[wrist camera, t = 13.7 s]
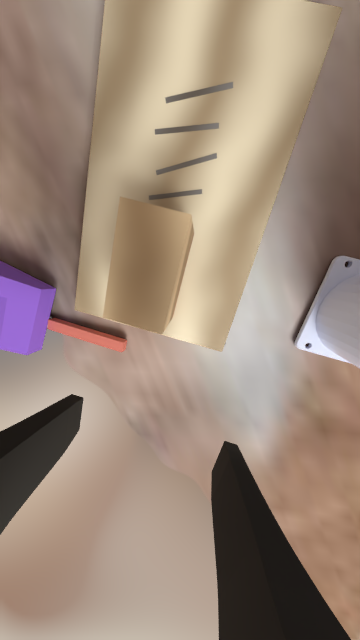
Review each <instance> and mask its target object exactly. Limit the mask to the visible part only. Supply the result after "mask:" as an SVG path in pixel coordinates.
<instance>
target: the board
mask: <svg viewBox="0 0 360 640" xmlns="http://www.w3.org/2000/svg"><path fill="white" fill-rule="evenodd" d="M341 11H342V8H341V7H336V6H331V5H326V4H321V3H316V2H310V1H305V0H105V5H104V15H103V25H102V35H101V45H100V56H99V66H98V76H97V86H96V96H95V106H94V117H93V127H92V137H91V147H90V157H89V167H88V178H87V188H86V198H85V208H84V218H83V228H82V239H81V249H80V259H79V269H78V279H77V289H76V300H75V310H77V311H80V312H84V313H87V314H91V315H94V316H98V317H101V318H103V311H104V304H105V297H106V290H107V283H108V276H109V269H110V262H111V255H112V248H113V241H114V235H115V228H116V221H117V214H118V207H119V200H120V197H124V198H128V199H132V200H136V201H140V202H144V203H148V204H152V205H156V206H160V207H164V208H168V209H172V210H176V211H180V212H184V213H188V214H191V215H192V222H193V228H194V236H193V240H192V244H191V248H190V252H189V256H188V260H187V264H186V268H185V272H184V276H183V280H182V283H181V287H180V291H179V295H178V299H177V303H176V307H175V311H174V315H173V318H172V320H171V321H170V323H169V324H168V326H167V328H166V329H165V331H164V332H163V334H161V335H164V336H168V337H171V338H175V339H178V340H182V341H185V342H189V343H192V344H196V345H199V346H203V347H207V348H210V349H214V350H217V351H221V352H222V350H223V347H224V344H225V342H226V339H227V336H228V333H229V330H230V327H231V324H232V322H233V319H234V316H235V313H236V310H237V307H238V304H239V302H240V299H241V296H242V293H243V290H244V287H245V285H246V282H247V279H248V276H249V273H250V270H251V267H252V265H253V262H254V259H255V256H256V253H257V250H258V247H259V245H260V242H261V239H262V236H263V233H264V230H265V227H266V225H267V222H268V219H269V216H270V213H271V210H272V208H273V205H274V202H275V199H276V196H277V193H278V190H279V188H280V185H281V182H282V179H283V176H284V173H285V170H286V168H287V165H288V162H289V159H290V156H291V153H292V151H293V148H294V145H295V142H296V139H297V136H298V133H299V131H300V128H301V125H302V122H303V119H304V116H305V113H306V111H307V108H308V105H309V102H310V99H311V96H312V94H313V91H314V88H315V85H316V82H317V79H318V76H319V74H320V71H321V68H322V65H323V62H324V59H325V56H326V54H327V51H328V48H329V45H330V42H331V39H332V37H333V34H334V31H335V28H336V25H337V22H338V19H339V17H340V14H341ZM105 319H106V318H105ZM108 320H110V319H108ZM112 321H113V320H112ZM115 322H117V321H115ZM119 323H120V322H119ZM122 324H124V323H122ZM126 325H127V324H126ZM129 326H131V325H129ZM133 327H134V326H133ZM136 328H138V327H136ZM140 329H141V328H140ZM143 330H145V329H143ZM147 331H148V330H147ZM150 332H152V331H150ZM154 333H155V332H154ZM157 334H159V333H157Z"/></svg>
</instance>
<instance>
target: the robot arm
mask: <svg viewBox="0 0 360 640" xmlns="http://www.w3.org/2000/svg"><path fill="white" fill-rule="evenodd" d="M346 261H347V262H348V266H347V267H345V262H346ZM307 343H309V345H308V346H307V347H305V345H306V344H307ZM295 346H296V347H297V348H299V349H301V350H305V351H308V352H312V353H316V354H319V355H323V356H326V357H330V358H334V359H337V360H341V361H344V362H348V363H351V364H353V365H355V366H357V367H358V368H360V260H359V259H355V258H351V257H347V256H338V257H335V258H334V259H333V261H332V263H331V265H330V267H329V269H328V271H327V273H326V276H325V278H324V280H323V282H322V284H321V286H320V288H319V291H318V293H317V295H316V297H315V299H314V301H313V304H312V306H311V308H310V310H309V312H308V314H307V316H306V319H305V321H304V323H303V325H302V327H301V329H300V332H299V334H298V336H297V338H296V340H295ZM82 404H83V397H79V396H76V395H73V394H71V395H70V396H68V397H66V398H64V399H62V400H60V401H58V402H57V403H55V404H53V405H51V406H49V407H47V408H45V409H44V410H42V411H40V412H38V413H36V414H34V415H32V416H30V417H28V418H26V419H24V420H23V421H21V422H19V423H17V424H15V425H13V426H11V427H9V428H7V429H5V430H3V431H1V432H0V534H1V533H2V532H3V530H4V529H5V527H6V526H7V525H8V523H9V522H10V521H11V519H12V518H13V517H14V515H15V514H16V512H17V511H18V510H19V509H20V508H21V506H22V505H23V504H24V503H25V501H26V500H27V499H28V498H29V496H30V495H31V494H32V493H33V491H34V490H35V489H36V488H37V486H38V485H39V484H40V482H41V481H42V480H43V479H44V478H45V476H46V475H47V474H48V473H49V471H50V470H51V469H52V468H53V466H54V465H55V464H56V462H57V461H58V460H59V459H60V457H61V456H62V455H63V453H64V452H65V451H66V449H67V448H68V446H69V445H70V443H71V441H72V440H73V439H74V437H75V435H76V434H77V432H78V431H79V427H80V420H81V412H82ZM211 501H212V515H213V528H214V542H215V555H216V568H217V582H218V610H219V611H218V612H219V640H351V639H350V637H349V636H348V634H347V633H346V632H345V630H344V629H343V627H342V626H341V624H340V623H339V621H338V620H337V618H336V617H335V615H334V614H333V612H332V611H331V609H330V608H329V606H328V605H327V603H326V602H325V600H324V599H323V597H322V596H321V594H320V592H319V591H318V589H317V588H316V586H315V585H314V583H313V581H312V580H311V578H310V577H309V575H308V573H307V572H306V570H305V569H304V567H303V565H302V564H301V562H300V561H299V559H298V557H297V556H296V554H295V552H294V551H293V549H292V547H291V546H290V544H289V542H288V540H287V539H286V537H285V535H284V533H283V532H282V530H281V528H280V526H279V525H278V523H277V521H276V519H275V518H274V516H273V514H272V512H271V510H270V508H269V507H268V505H267V503H266V501H265V499H264V497H263V495H262V493H261V491H260V490H259V488H258V486H257V484H256V482H255V480H254V478H253V476H252V474H251V472H250V470H249V468H248V466H247V464H246V462H245V460H244V458H243V456H242V454H241V452H240V450H239V448H238V446H237V445H236V444H233V443H229V442H226V441H224V444H223V446H222V448H221V451H220V453H219V456H218V458H217V460H216V463H215V465H214V468H213V470H212V491H211Z"/></svg>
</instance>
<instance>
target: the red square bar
mask: <svg viewBox="0 0 360 640" xmlns="http://www.w3.org/2000/svg"><path fill="white" fill-rule="evenodd" d="M47 327H48V329H49V330H53V331H56V332H59V333H62V334H65V335H68V336H72V337H75V338H78V339H81V340H84V341H87V342H90V343H94V344H97V345H100V346H103V347H106V348H109V349H113V350H116V351H119V352H123V351H124V350H125V349H126V344H127V340H125V339H122V338H119V337H116V336H112V335H109V334H106V333H103V332H99V331H96V330H93V329H90V328H86V327H83V326H80V325H77V324H73V323H70V322H67V321H64V320H60V319H57V318H52V319H51V318H49V319H48V325H47Z"/></svg>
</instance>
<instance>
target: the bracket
mask: <svg viewBox="0 0 360 640" xmlns="http://www.w3.org/2000/svg"><path fill="white" fill-rule="evenodd" d="M55 292H56V288H54V287H52V286H50V285H48V284H46V283H44V282H42V281H40V280H38V279H36V278H34V277H32V276H30V275H28V274H26V273H24V272H22V271H20V270H18V269H16V268H14V267H12V266H10V265H8V264H6V263H4V262H2V261H0V349H1V350H6V351H10V352H15V353H19V354H24V355H29V354H31V353H33V352H36V351H38V350H41V349H42V345H43V341H44V337H45V333H46V329H47V325H48V319H49V317H50V313H51V309H52V304H53V300H54V296H55Z"/></svg>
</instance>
